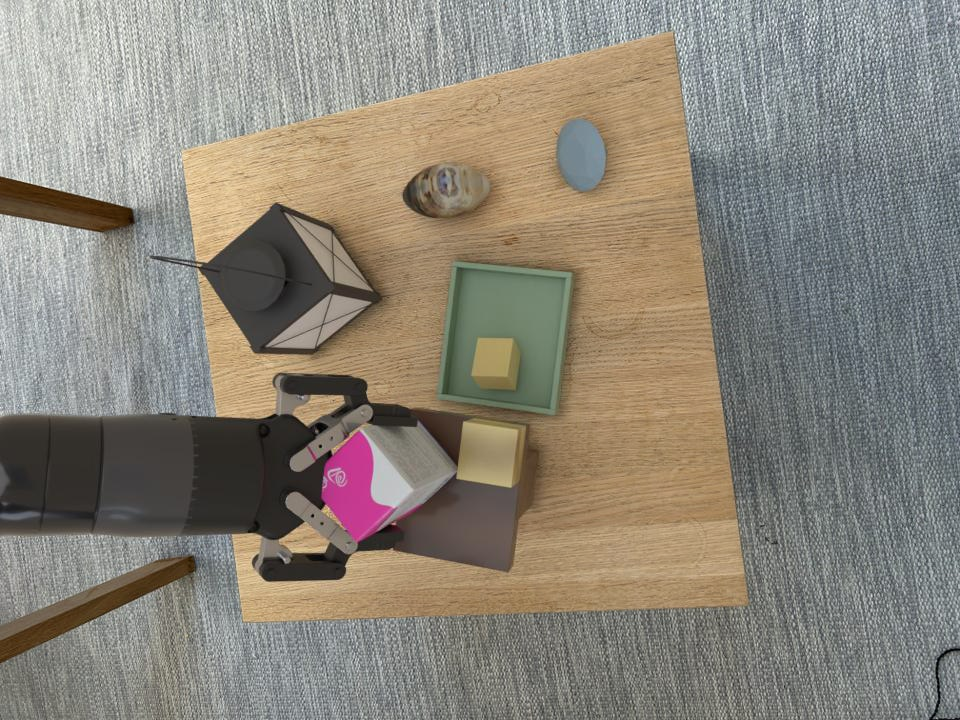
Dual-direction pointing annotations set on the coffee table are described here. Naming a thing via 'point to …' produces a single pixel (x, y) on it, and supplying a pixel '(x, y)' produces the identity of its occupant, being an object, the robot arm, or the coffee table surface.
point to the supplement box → (384, 476)
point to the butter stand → (474, 492)
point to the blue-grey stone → (581, 154)
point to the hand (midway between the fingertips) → (406, 476)
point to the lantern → (287, 282)
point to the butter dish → (507, 333)
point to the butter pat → (496, 363)
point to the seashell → (446, 190)
